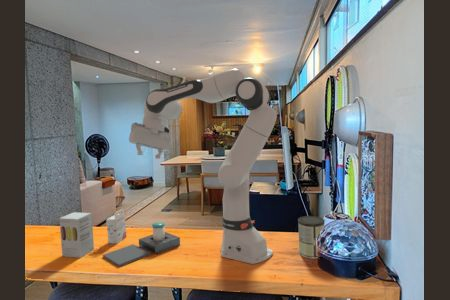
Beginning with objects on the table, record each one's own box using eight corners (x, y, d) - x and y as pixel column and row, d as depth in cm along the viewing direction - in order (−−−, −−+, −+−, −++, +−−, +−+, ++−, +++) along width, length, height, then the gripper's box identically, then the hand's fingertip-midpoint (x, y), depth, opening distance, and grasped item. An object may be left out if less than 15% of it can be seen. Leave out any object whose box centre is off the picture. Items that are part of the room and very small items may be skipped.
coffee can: (303, 246, 133) (302, 214, 132) (327, 251, 127) (327, 217, 126) (294, 255, 124) (294, 221, 123) (320, 261, 119) (320, 225, 117)
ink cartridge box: (117, 236, 153) (115, 207, 152) (126, 237, 152) (124, 207, 151) (107, 243, 145) (105, 212, 143) (117, 244, 144) (115, 213, 142)
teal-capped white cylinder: (168, 245, 140) (166, 223, 139) (158, 249, 136) (156, 227, 135) (161, 242, 143) (159, 221, 142) (151, 246, 140) (149, 224, 139)
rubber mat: (150, 254, 130) (150, 252, 130) (119, 267, 120) (119, 264, 120) (133, 246, 140) (133, 244, 140) (103, 257, 130) (102, 254, 130)
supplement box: (61, 256, 132) (58, 218, 131) (76, 247, 141) (73, 211, 140) (81, 258, 130) (77, 218, 128) (95, 248, 139) (91, 212, 137)
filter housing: (180, 244, 140) (179, 237, 139) (155, 254, 131) (154, 246, 130) (163, 238, 149) (162, 230, 148) (139, 246, 140) (138, 239, 139)
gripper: (136, 119, 132) (132, 151, 129) (173, 131, 147) (171, 160, 144) (128, 122, 136) (124, 153, 133) (165, 133, 151) (162, 161, 148)
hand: (149, 156), depth 139 cm, fingers open, 8 cm apart
